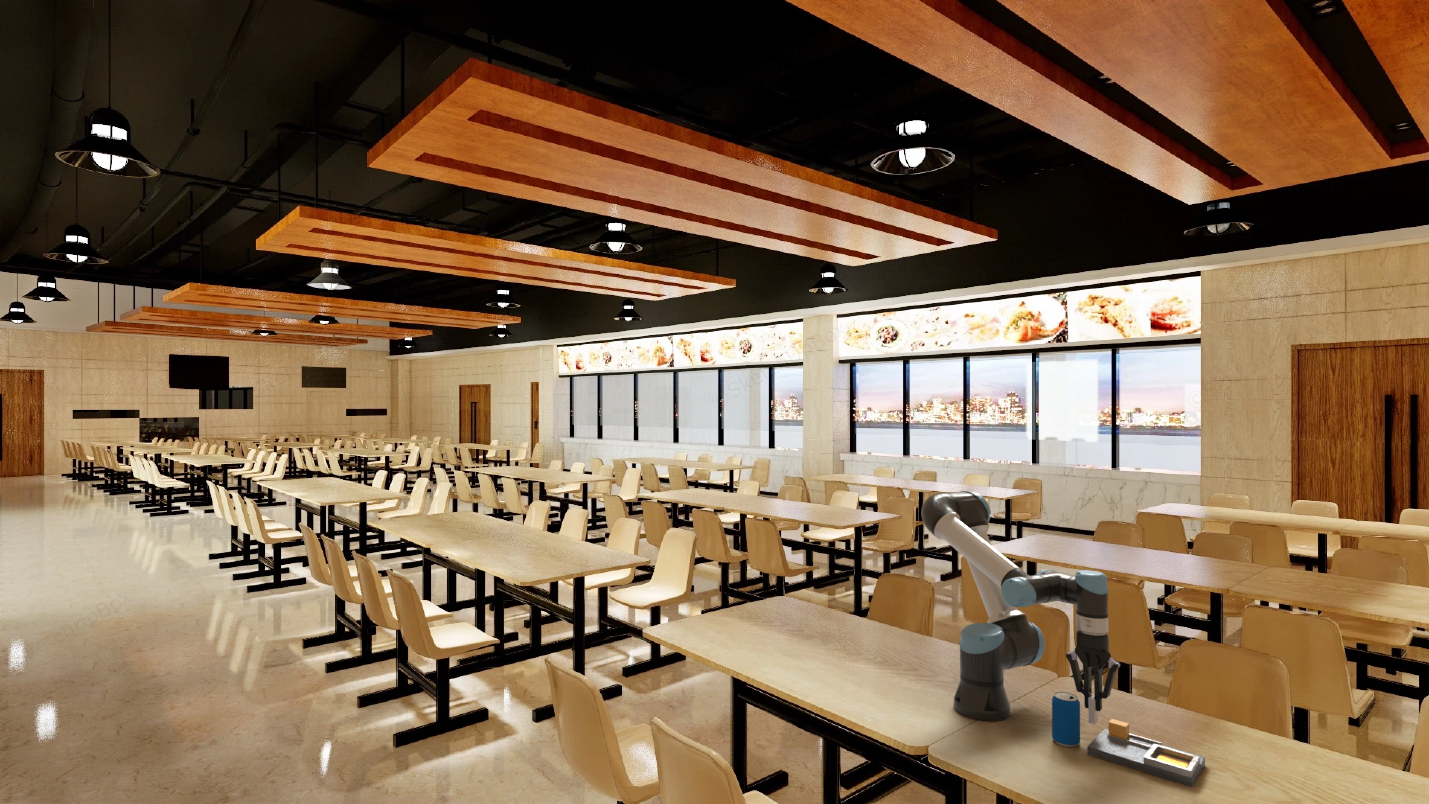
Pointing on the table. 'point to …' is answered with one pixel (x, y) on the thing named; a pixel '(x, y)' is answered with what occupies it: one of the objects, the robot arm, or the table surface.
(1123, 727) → the block
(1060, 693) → the beverage can
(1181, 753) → the panel
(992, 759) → the table surface
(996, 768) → the table surface
